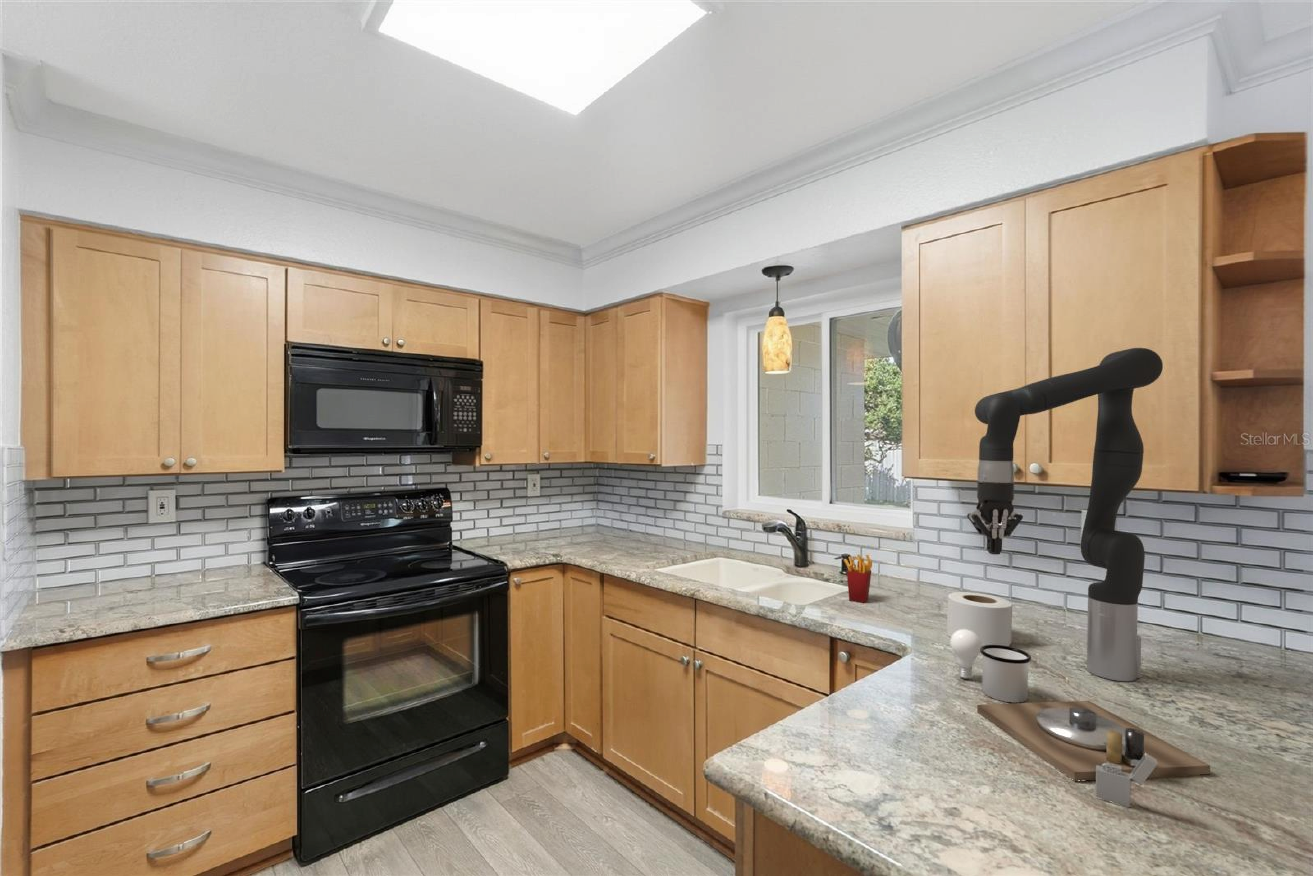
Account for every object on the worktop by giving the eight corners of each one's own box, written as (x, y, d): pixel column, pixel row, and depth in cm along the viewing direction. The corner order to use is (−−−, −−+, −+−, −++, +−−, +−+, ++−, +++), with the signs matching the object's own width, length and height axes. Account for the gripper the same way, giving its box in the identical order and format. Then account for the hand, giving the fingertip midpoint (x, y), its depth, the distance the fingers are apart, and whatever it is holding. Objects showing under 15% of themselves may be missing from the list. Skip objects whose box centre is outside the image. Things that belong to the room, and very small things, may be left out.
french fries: (866, 604, 196) (867, 558, 196) (840, 600, 201) (841, 554, 200) (873, 598, 203) (874, 553, 203) (848, 594, 208) (849, 550, 208)
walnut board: (1088, 708, 122) (1089, 678, 122) (1210, 774, 98) (1210, 737, 98) (977, 712, 120) (977, 682, 120) (1074, 781, 96) (1075, 743, 96)
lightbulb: (985, 685, 133) (986, 635, 133) (953, 682, 134) (954, 633, 134) (976, 674, 139) (976, 626, 139) (946, 672, 140) (947, 624, 140)
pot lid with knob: (1019, 714, 115) (1019, 688, 115) (1087, 712, 117) (1087, 686, 117) (1100, 768, 97) (1100, 736, 97) (1180, 765, 98) (1181, 734, 98)
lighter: (1095, 798, 91) (1096, 745, 91) (1095, 792, 93) (1096, 740, 93) (1156, 815, 87) (1157, 760, 87) (1155, 809, 89) (1156, 755, 89)
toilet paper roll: (998, 631, 171) (999, 593, 171) (1021, 650, 156) (1022, 608, 156) (939, 627, 174) (940, 589, 174) (956, 645, 158) (957, 604, 158)
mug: (1023, 709, 121) (1024, 664, 121) (972, 694, 128) (973, 651, 128) (1039, 692, 130) (1039, 649, 130) (990, 679, 137) (991, 638, 136)
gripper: (1010, 479, 147) (1009, 550, 147) (959, 478, 145) (958, 551, 145) (1033, 481, 139) (1031, 557, 139) (979, 481, 138) (978, 557, 138)
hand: (994, 553), depth 142 cm, fingers closed
